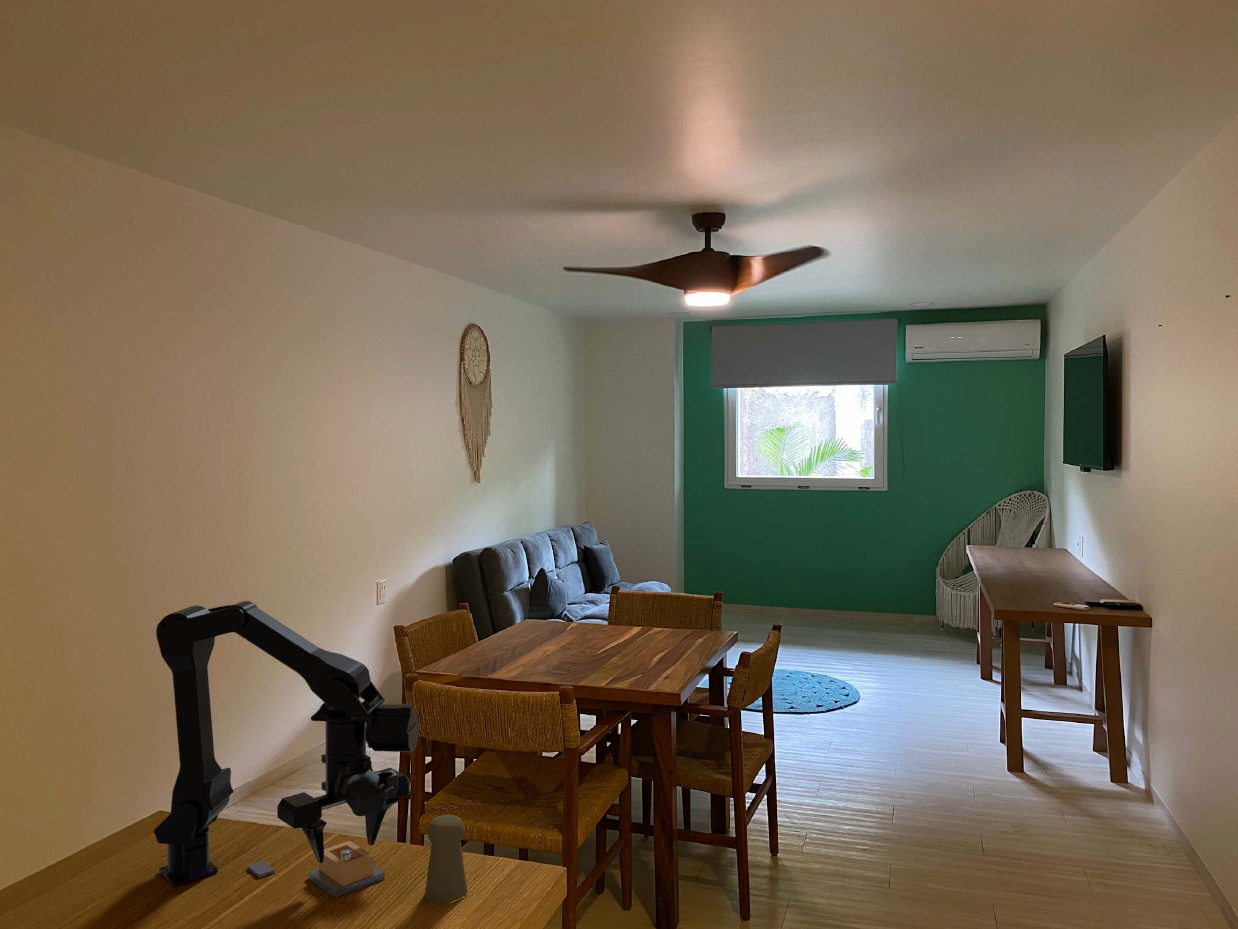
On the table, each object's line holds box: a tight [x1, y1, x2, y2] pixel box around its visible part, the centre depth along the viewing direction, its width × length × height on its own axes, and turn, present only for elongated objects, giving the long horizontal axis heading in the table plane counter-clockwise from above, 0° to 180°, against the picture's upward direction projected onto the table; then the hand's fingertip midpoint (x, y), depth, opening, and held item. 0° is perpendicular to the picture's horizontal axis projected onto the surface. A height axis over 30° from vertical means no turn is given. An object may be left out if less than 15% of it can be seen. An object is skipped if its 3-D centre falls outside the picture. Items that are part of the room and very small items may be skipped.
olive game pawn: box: [424, 814, 468, 905], centre depth 134 cm, size 6×6×11 cm
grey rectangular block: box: [247, 860, 276, 879], centre depth 141 cm, size 4×2×1 cm, turn 45°
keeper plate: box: [307, 850, 386, 898], centre depth 139 cm, size 8×8×4 cm
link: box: [318, 840, 375, 886], centre depth 139 cm, size 7×5×3 cm
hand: (346, 853), depth 139 cm, fingers open, 8 cm apart
